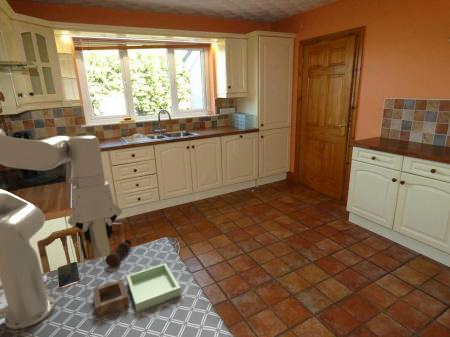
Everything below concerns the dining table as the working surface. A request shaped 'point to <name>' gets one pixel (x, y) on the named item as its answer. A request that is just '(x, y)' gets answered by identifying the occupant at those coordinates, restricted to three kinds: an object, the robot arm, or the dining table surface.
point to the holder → (113, 303)
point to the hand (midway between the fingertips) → (99, 238)
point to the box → (99, 238)
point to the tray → (152, 287)
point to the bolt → (118, 254)
